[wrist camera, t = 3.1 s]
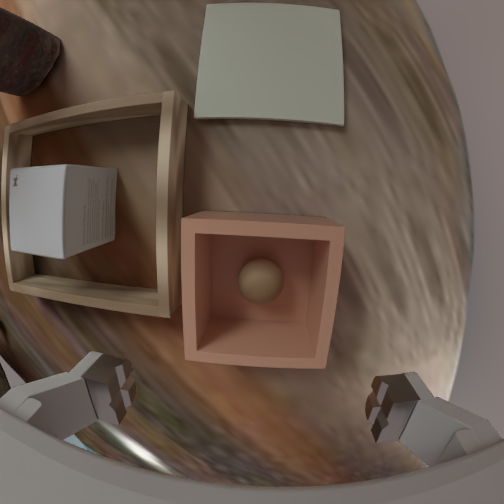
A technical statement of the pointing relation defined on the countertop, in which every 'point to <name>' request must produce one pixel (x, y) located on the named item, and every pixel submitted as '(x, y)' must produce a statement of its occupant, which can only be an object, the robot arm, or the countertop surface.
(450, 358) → the countertop surface
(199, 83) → the plate
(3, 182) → the crate
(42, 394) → the robot arm
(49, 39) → the grey brown tall cylinder
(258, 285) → the cork ball
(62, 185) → the product box
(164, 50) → the countertop surface
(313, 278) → the pot
